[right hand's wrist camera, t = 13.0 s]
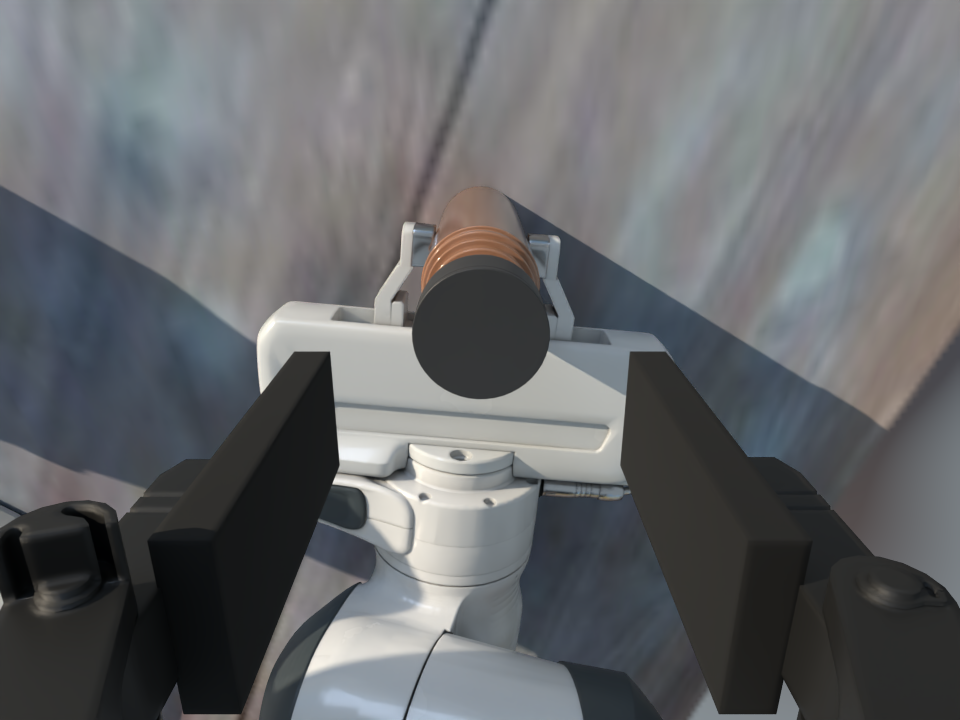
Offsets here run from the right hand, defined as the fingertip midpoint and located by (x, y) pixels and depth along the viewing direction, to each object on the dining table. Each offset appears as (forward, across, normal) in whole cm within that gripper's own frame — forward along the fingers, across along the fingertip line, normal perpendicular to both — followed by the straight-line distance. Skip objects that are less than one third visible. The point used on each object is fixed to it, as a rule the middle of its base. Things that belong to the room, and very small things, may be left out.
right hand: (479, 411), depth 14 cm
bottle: (+24, 0, 0) cm, 24 cm away
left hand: (+18, 0, -1) cm, 18 cm away
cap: (+5, 0, 0) cm, 5 cm away
